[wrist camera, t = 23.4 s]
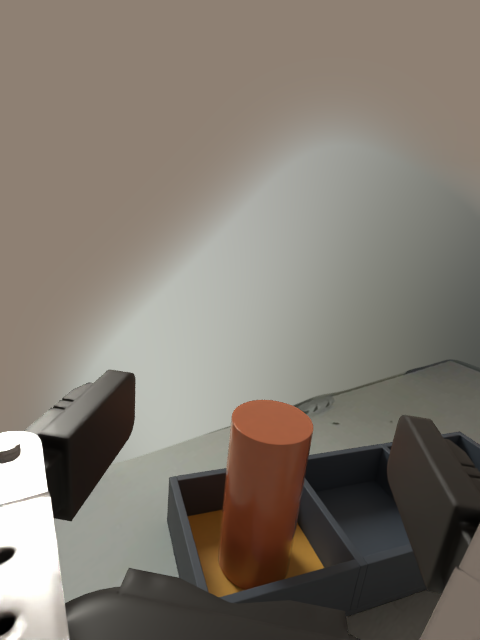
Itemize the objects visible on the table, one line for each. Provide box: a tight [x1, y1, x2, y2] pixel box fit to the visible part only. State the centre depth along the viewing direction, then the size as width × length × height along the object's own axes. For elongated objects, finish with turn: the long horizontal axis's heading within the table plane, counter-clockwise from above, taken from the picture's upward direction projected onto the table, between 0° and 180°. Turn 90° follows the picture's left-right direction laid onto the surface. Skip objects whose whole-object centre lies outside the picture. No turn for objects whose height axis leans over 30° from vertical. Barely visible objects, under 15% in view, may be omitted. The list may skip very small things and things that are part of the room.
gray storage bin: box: [167, 432, 480, 617], centre depth 32 cm, size 32×11×4 cm, turn 110°
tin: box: [218, 400, 313, 590], centre depth 27 cm, size 6×6×12 cm
